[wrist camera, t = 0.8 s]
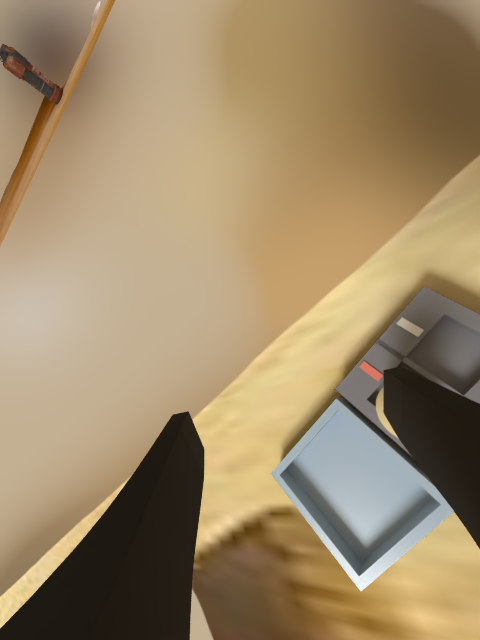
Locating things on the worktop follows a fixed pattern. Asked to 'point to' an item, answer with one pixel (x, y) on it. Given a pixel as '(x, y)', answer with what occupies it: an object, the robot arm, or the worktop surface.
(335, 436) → the parts tray
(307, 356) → the worktop surface
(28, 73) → the grenade
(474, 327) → the fuse block
